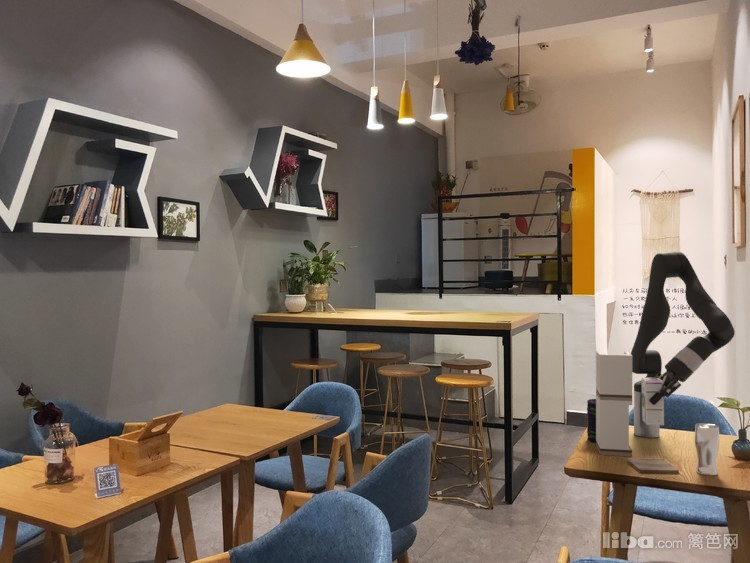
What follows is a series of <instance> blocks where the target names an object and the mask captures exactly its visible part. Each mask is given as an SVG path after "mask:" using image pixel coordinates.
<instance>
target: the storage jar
mask: <svg viewBox="0 0 750 563" xmlns="http://www.w3.org/2000/svg"><path fill="white" fill-rule="evenodd" d="M586 414H587V422H588V423H587V425H586V429H587V430H586V433H587V434H586V435H587V441H588V442H589V441H590V442H589V443H592V444H596V398H592V399H591V398H590V399H588V400H587V407H586Z"/></svg>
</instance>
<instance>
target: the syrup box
mask: <svg viewBox="0 0 750 563" xmlns="http://www.w3.org/2000/svg"><path fill="white" fill-rule="evenodd" d="M640 379H641V380H642V421H643V422H644V423H645V424H647V425H660V426H664V425H665V404H664V403H665V402H664V399H665V397H664V398H663V397H662V398H661V399H660V400H659V401H658V402H657V403H656V404H655V405H653V404H652V403H651V402H650V401H649V399H650V398H651V397H652V396H653V395H654V394H655V393H656V392H657V393H658V390H659V389H660V388H661V385H662V384H663V381H662V380H661V379H659V378H645V377H641V378H640ZM641 380H640V381H641Z"/></svg>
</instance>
